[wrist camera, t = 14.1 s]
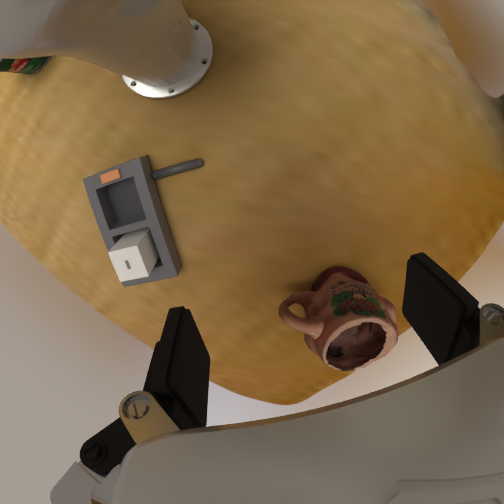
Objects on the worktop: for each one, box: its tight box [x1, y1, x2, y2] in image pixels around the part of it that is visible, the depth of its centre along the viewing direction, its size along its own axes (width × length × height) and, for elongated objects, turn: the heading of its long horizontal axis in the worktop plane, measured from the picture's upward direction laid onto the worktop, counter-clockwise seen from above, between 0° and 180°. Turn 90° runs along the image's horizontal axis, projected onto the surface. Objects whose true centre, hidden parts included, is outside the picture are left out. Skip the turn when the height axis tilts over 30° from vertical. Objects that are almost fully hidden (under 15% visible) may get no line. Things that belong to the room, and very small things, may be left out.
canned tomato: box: [0, 56, 51, 75], centre depth 19 cm, size 8×8×11 cm
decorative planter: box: [279, 267, 398, 371], centre depth 38 cm, size 20×12×14 cm, turn 78°
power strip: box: [83, 155, 203, 287], centre depth 36 cm, size 17×16×4 cm
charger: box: [108, 227, 159, 282], centre depth 36 cm, size 4×4×7 cm
